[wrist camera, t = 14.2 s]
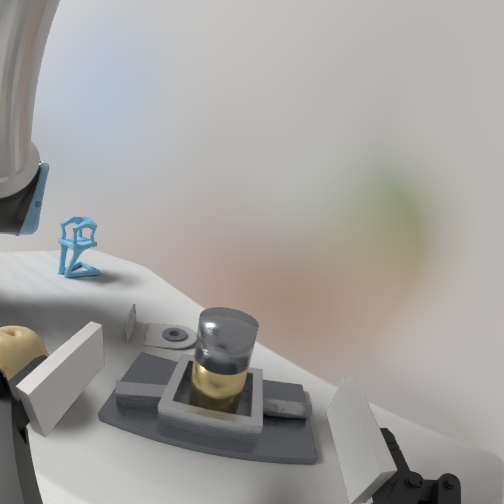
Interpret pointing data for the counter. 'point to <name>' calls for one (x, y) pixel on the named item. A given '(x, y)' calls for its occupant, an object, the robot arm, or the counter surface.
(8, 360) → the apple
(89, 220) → the chair
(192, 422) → the coupling board
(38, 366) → the robot arm
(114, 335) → the counter surface
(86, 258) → the counter surface
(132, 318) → the bracket
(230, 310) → the gold and grey cylinder
